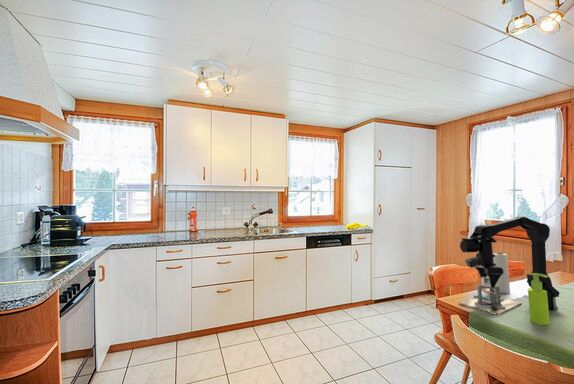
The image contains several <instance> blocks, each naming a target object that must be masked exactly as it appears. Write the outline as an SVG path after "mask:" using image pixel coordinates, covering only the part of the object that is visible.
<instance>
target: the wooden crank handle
mask: <svg viewBox="0 0 574 384" xmlns="http://www.w3.org/2000/svg"><path fill="white" fill-rule="evenodd" d="M481 290H482V293H483V294H484V293H485V295H489V296H490V300H491V310H494V311H497V301H496V294H495V289H481Z"/></svg>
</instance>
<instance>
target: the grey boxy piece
mask: <svg viewBox="0 0 574 384" xmlns="http://www.w3.org/2000/svg"><path fill="white" fill-rule="evenodd" d="M481 289H488V290H489V289H495V294H496V301H497V306H502V304H501V301H500V298H501V293H500V288H499V286H495V287H494V288H492V287H491V285H490V281H489V277H488V276H487V277H482V280H481V284H477V285H476V290H477V294H478V300H477V302H478V303H479V304H480V305H487V306H491V301H483V300H482V294H483V291H482V290H481Z"/></svg>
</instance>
